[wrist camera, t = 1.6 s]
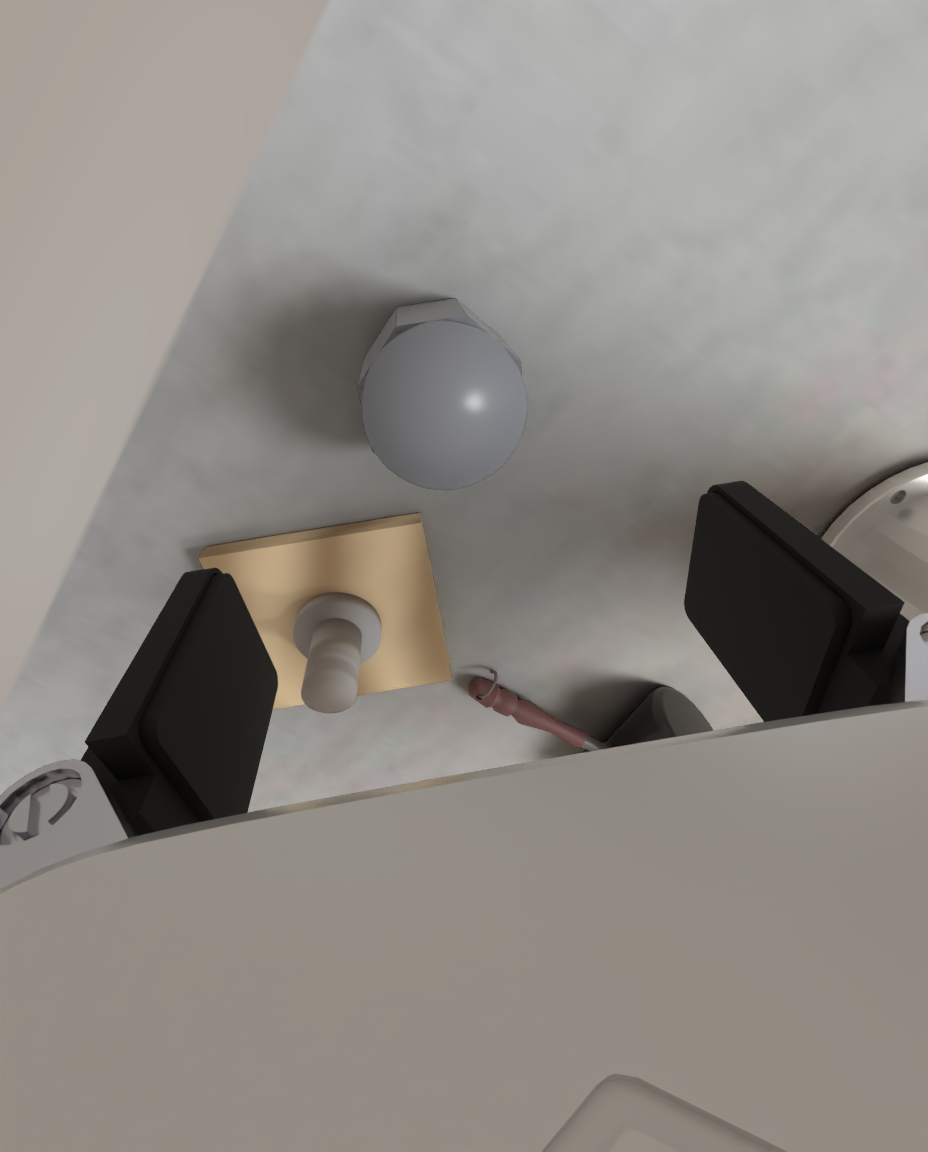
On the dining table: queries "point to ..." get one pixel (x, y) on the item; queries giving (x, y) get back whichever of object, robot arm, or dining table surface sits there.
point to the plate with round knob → (341, 609)
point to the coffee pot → (649, 722)
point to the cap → (441, 396)
